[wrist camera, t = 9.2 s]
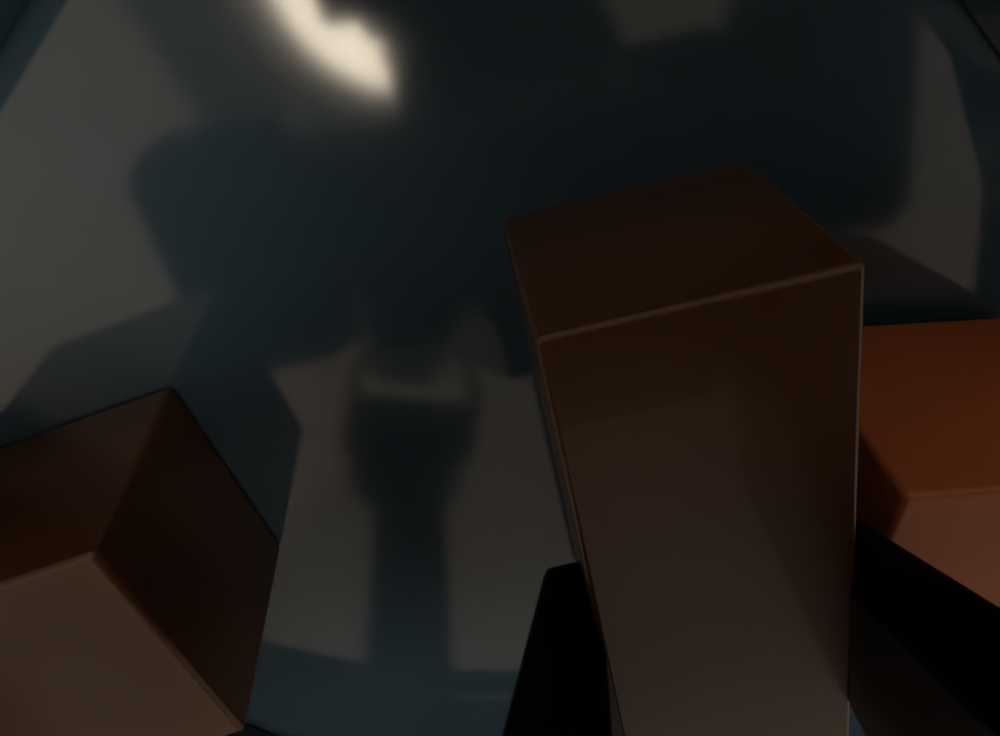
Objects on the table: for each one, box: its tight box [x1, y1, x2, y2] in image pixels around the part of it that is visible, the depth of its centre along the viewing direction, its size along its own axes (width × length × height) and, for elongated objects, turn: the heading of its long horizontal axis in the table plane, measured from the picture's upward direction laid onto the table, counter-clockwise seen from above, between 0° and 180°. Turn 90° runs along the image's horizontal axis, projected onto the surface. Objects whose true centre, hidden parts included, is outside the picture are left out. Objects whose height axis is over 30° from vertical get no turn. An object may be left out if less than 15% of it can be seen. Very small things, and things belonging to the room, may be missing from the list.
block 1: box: [0, 389, 279, 736], centre depth 10 cm, size 3×3×3 cm
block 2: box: [856, 318, 1000, 607], centre depth 10 cm, size 3×3×3 cm
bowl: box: [0, 0, 1000, 736], centre depth 10 cm, size 17×17×3 cm
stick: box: [502, 162, 865, 736], centre depth 9 cm, size 8×2×2 cm, turn 12°
